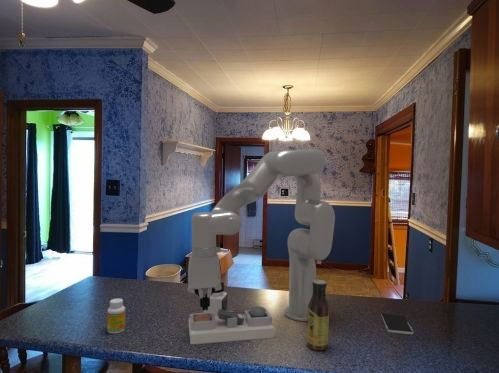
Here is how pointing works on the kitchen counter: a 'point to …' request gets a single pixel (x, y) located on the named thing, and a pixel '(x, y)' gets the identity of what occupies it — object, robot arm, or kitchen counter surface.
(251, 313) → the slate button
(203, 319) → the terracotta button
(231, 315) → the block
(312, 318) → the sauce bottle
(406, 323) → the smartphone
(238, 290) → the kitchen counter surface
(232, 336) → the switch panel
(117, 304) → the supplement bottle
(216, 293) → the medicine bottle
